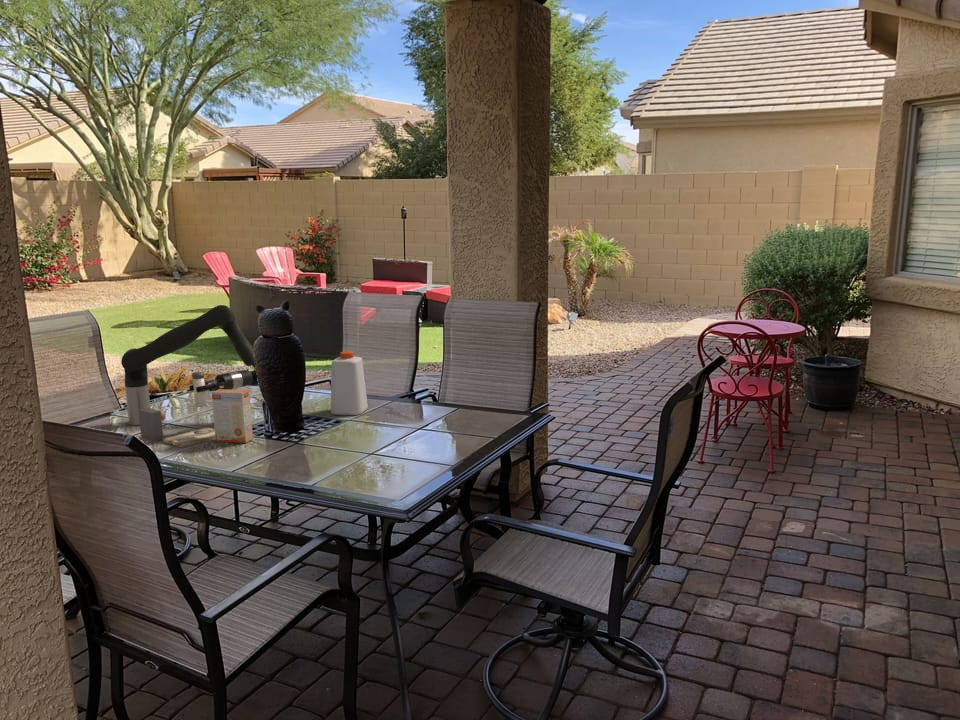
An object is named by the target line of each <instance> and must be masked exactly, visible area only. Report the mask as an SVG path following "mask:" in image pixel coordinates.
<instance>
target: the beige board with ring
mask: <svg viewBox="0 0 960 720" xmlns="http://www.w3.org/2000/svg"><path fill="white" fill-rule="evenodd" d="M162 439H163V440H162V443H165V442H167V443H166V444H168V443H170V444H169V445H171V444H173V445H172V446H174V445H177V446H180V447H179V448H181V447H183V448H185V447H184V446H187V447H189V446H188V445H191V446H193V445H192V444H194V445H196V444H195V443H198V444H200V443H199V442H202V443H204V442H203V441H205V442H208V441H207V440H209V441H212V440H211V439H213V440H216V437H215V428H211V427H207V426H206V427H203V428H198V429H193V430H191V431H187V432H183V433H178V434H174V435H171V436H167V437H163V438H162ZM177 446H176V447H177Z"/></svg>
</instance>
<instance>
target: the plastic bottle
mask: <svg viewBox="0 0 960 720" xmlns="http://www.w3.org/2000/svg"><path fill="white" fill-rule="evenodd" d="M363 362H364V361H363V358H362V357H360V356H354V352H353V351H350V350H349V351H341V352H340V353H339V357H336V358H334V359H333V360H332V361H331V376H330V378H331V379H330V381H331V382H330V383H331V384H330V413H331V414H332V415H335V416H359V415H362V414H363V413H364V412H365V411H366V410H368V407H369V405H368V398H367V389H366V381H365V372H364V363H363Z"/></svg>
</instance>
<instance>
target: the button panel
mask: <svg viewBox="0 0 960 720" xmlns="http://www.w3.org/2000/svg"><path fill="white" fill-rule="evenodd" d="M158 410H159V409H154V408H151V407H150V408H145V409H140V410H139V419H140V425H139V427H140V436H141V437H142V438H141V439H143V440H144V439H145V440H147V441H149V442H153V441H156V442H159V441H158V440H160V441H162V440H161V439H162V438H164V432H163V420H161V411H158Z"/></svg>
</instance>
